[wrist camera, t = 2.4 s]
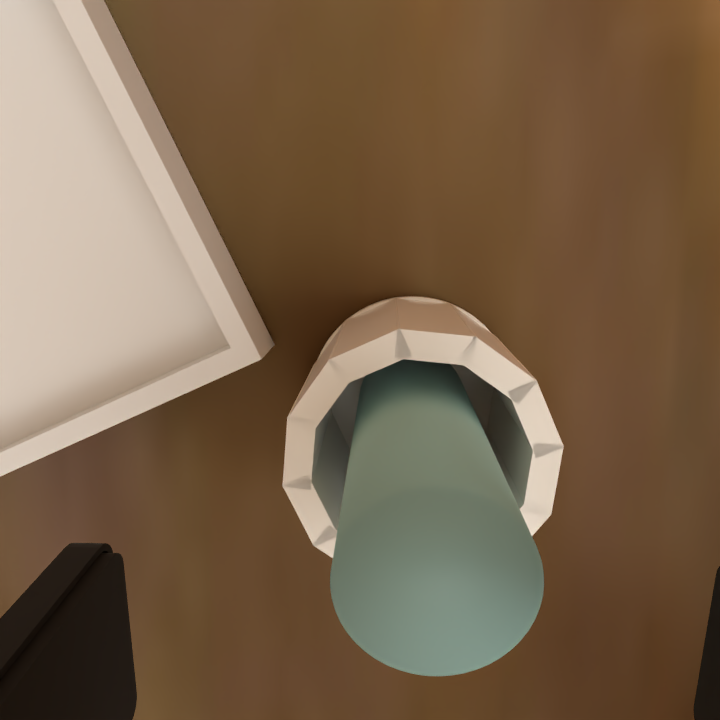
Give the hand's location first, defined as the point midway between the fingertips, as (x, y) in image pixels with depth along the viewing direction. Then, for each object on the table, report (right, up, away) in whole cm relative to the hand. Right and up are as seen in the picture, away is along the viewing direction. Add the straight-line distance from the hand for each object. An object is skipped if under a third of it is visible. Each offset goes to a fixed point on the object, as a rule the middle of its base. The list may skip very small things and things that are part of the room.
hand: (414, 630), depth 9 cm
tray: (-15, +9, +13) cm, 22 cm away
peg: (+1, +3, +14) cm, 14 cm away
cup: (+1, +3, +14) cm, 14 cm away
